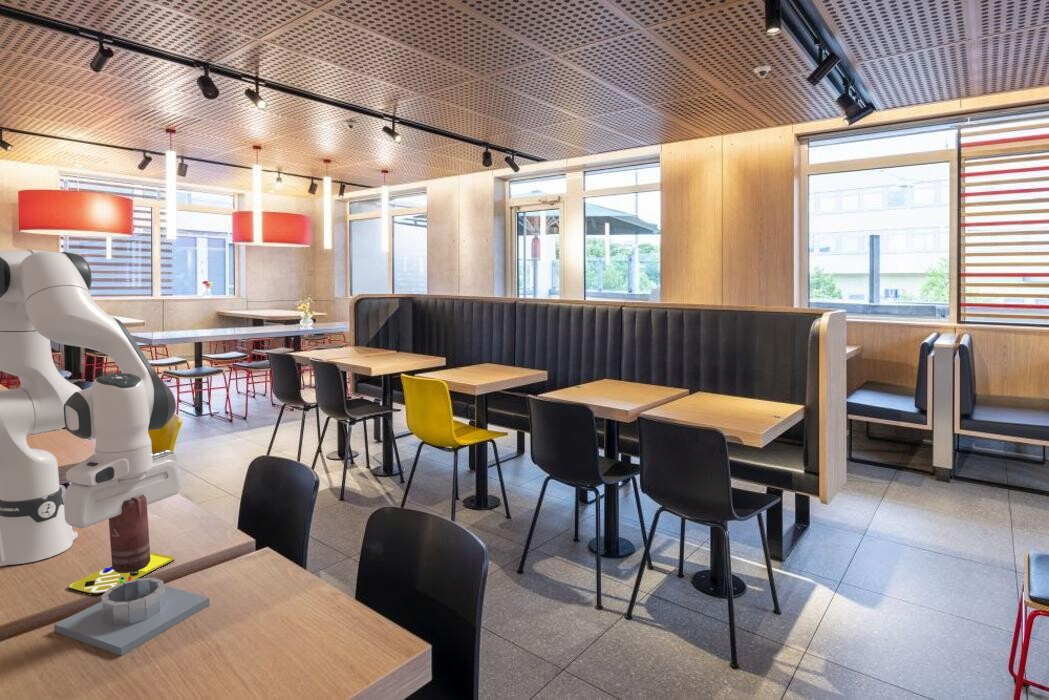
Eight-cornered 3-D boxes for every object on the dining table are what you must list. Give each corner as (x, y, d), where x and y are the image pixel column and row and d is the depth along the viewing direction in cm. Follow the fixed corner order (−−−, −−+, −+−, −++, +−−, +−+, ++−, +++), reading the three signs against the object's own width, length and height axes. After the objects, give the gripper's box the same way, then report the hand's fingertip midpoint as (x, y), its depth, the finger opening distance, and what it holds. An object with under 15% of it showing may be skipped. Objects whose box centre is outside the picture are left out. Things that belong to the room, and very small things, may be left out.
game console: (141, 554, 145) (141, 548, 145) (178, 562, 142) (178, 556, 142) (64, 591, 128) (64, 585, 128) (104, 601, 125) (103, 594, 125)
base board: (54, 631, 113) (54, 624, 113) (146, 586, 130) (146, 579, 130) (121, 655, 107) (121, 647, 106) (209, 604, 123) (209, 597, 123)
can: (133, 575, 113) (128, 502, 112) (104, 572, 114) (99, 499, 113) (159, 560, 119) (154, 491, 117) (131, 557, 120) (126, 488, 119)
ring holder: (90, 618, 115) (89, 597, 115) (141, 592, 124) (140, 574, 124) (127, 630, 112) (126, 609, 111) (176, 603, 121) (175, 584, 120)
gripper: (163, 445, 125) (167, 510, 127) (55, 475, 106) (61, 551, 108) (186, 449, 123) (190, 515, 124) (79, 480, 104) (85, 557, 106)
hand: (129, 532), depth 116 cm, fingers closed, pressing on can
